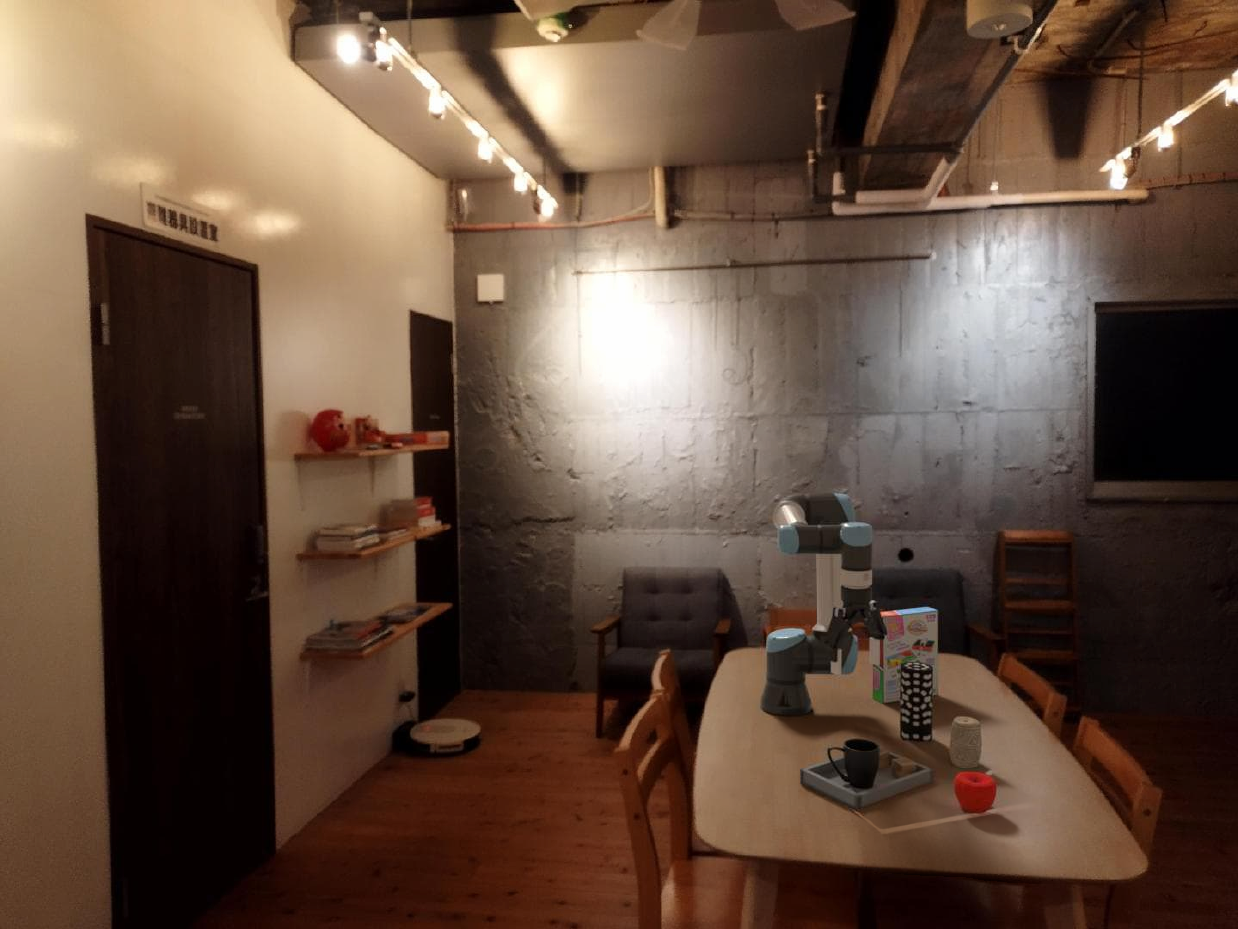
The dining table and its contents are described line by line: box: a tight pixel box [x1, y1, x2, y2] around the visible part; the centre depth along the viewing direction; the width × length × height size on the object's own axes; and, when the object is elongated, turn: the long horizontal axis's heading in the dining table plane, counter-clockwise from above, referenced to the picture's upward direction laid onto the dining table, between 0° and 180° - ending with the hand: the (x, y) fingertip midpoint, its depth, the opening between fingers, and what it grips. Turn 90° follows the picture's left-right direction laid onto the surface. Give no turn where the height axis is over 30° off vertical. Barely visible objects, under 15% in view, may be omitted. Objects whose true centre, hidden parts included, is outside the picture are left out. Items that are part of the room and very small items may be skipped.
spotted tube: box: [899, 662, 934, 743], centre depth 234 cm, size 8×8×20 cm
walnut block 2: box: [892, 756, 917, 779], centre depth 208 cm, size 4×4×4 cm
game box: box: [872, 606, 939, 704], centre depth 267 cm, size 21×6×27 cm, turn 108°
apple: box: [953, 771, 997, 814], centre depth 192 cm, size 9×9×8 cm
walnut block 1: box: [878, 747, 890, 771], centre depth 215 cm, size 4×4×4 cm
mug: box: [826, 738, 880, 789], centre depth 205 cm, size 8×12×10 cm
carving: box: [949, 715, 983, 769], centre depth 216 cm, size 6×8×12 cm
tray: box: [799, 751, 934, 813], centre depth 207 cm, size 18×26×4 cm
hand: (855, 669), depth 216 cm, fingers open, 13 cm apart
